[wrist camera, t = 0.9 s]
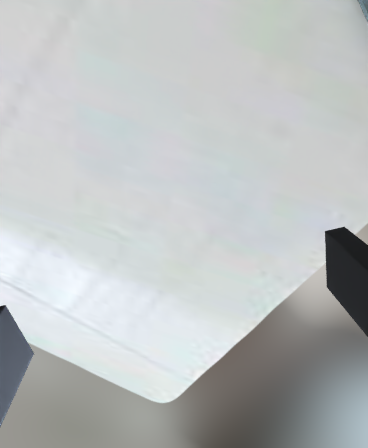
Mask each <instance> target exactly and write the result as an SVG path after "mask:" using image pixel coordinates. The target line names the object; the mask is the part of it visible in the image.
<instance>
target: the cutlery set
mask: <svg viewBox="0 0 368 448" xmlns="http://www.w3.org/2000/svg"><path fill="white" fill-rule="evenodd" d="M358 1H359V4H360V6H361V8H362V11H363V13H364V15H365V17H366V20H367V22H368V0H358Z"/></svg>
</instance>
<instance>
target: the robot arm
mask: <svg viewBox="0 0 368 448" xmlns="http://www.w3.org/2000/svg"><path fill="white" fill-rule="evenodd" d="M325 243H326V271H327V273H326V274H327V288H328V289H329V290H330V291H331V293H332V294H333V295H334V296H335V298H336V299H337V300H338V301H339V302H340V304H341V305H342V306H343V307H344V308H345V310H346V311H347V312H348V313H349V315H350V316H351V317H352V318H353V319H354V321H355V322H356V323H357V324H358V326H359V327H360V328H361V329H362V330H363V331H364V333H365V334H366V335H367V336H368V245H367V244H366V243H364V242H363V241H362V240H360V239H359V238H358V237H357V236H355V235H354V234H353V233H352V232H350V231H349V230H348V229H346V228H345V227H341V228H337V229H333V230H328V231H325ZM33 354H34V353H33V351H32V349H31V348H30V346H29V344H28V343H27V341H26V339H25V337H24V336H23V334H22V332H21V331H20V329H19V327H18V326H17V324H16V322H15V321H14V319H13V317H12V315H11V314H10V312H9V310H8V309H7V307H6V305H4V306H0V426H1V424H2V422H3V420H4V418H5V415H6V413H7V411H8V409H9V407H10V405H11V402H12V400H13V398H14V396H15V394H16V392H17V389H18V387H19V385H20V383H21V381H22V378H23V376H24V374H25V372H26V370H27V368H28V365H29V363H30V361H31V358H32V357H33Z"/></svg>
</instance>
